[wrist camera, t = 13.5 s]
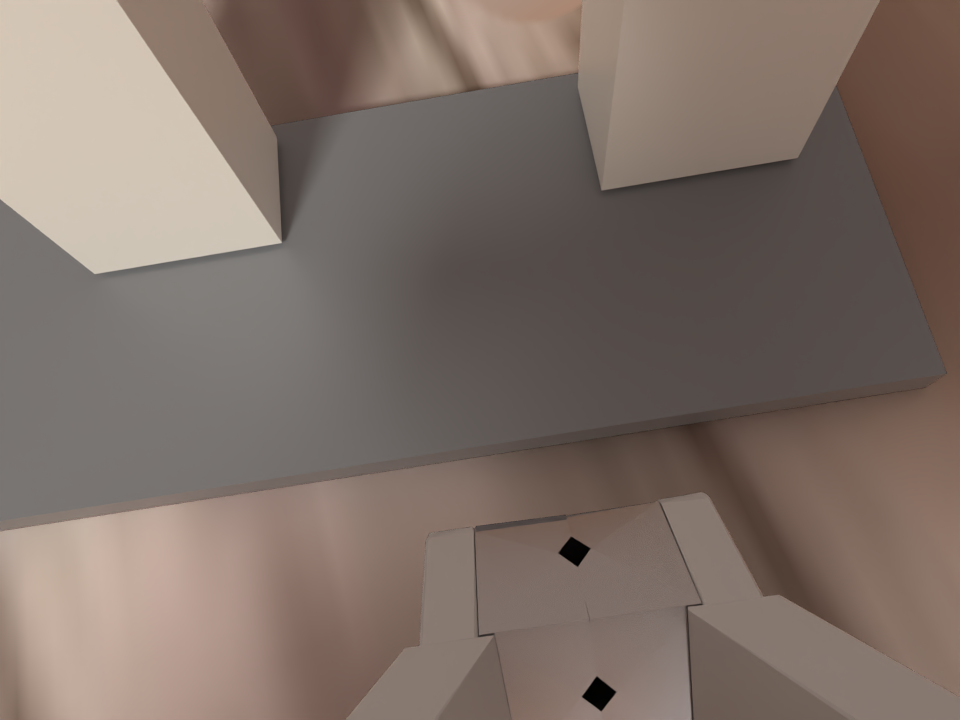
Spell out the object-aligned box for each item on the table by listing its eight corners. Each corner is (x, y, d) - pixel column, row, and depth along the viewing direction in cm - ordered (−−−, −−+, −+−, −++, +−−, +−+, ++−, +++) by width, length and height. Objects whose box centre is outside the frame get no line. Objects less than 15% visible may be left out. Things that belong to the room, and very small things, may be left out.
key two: (282, 243, 23) (30, -127, 12) (94, 274, 23) (-328, -61, 12) (276, 131, 25) (48, -291, 13) (100, 161, 25) (-270, -230, 14)
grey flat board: (925, 387, 21) (947, 373, 20) (-465, 603, 23) (-518, 601, 21) (803, 58, 25) (815, 32, 24) (-361, 257, 27) (-400, 240, 26)
